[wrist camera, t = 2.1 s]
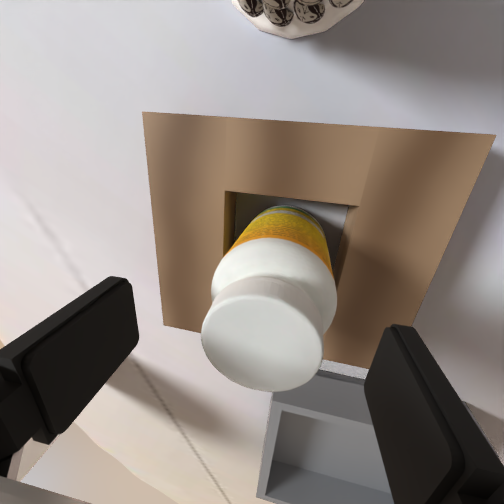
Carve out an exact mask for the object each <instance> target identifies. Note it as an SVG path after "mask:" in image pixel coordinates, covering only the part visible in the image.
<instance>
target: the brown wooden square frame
mask: <svg viewBox="0 0 504 504" xmlns="http://www.w3.org/2000/svg"><path fill="white" fill-rule="evenodd" d="M142 116H143V126H144V136H145V146H146V155H147V165H148V175H149V185H150V195H151V205H152V215H153V225H154V234H155V244H156V254H157V264H158V274H159V284H160V294H161V303H162V313H163V323H164V325H165V326H170V327H175V328H179V329H184V330H189V331H193V332H198V333H201V330H202V325H203V322H204V319H205V317H206V315H207V313H208V311H209V309H210V307H211V306H212V298H211V285H212V280H213V276H214V273H215V271H216V269H217V267H218V265H219V263H220V261H221V260H222V258H223V257H224V256H225V255H226V254H227V252H228V251H229V250H230V249H231V247H232V246H233V245H234V230H235V208H236V192H242V193H251V194H259V195H268V196H277V197H285V198H294V199H303V200H311V201H320V202H329V203H337V204H346V205H349V207H348V211H347V216H346V220H345V224H344V228H343V232H342V236H341V240H340V244H339V248H338V253H337V257H336V261H335V265H334V269H333V277H334V281H335V286H336V292H337V308H336V312H335V316H334V318H333V321H332V323H331V325H330V326H329V328H328V330H327V331H326V332H325V333H324V334H323V342H324V354H323V359H324V360H329V361H334V362H338V363H343V364H348V365H352V366H357V367H362V368H366V369H370V366H371V363H372V361H373V358H374V355H375V353H376V350H377V348H378V345H379V342H380V340H381V337H382V334H383V332H384V329H385V328H386V327H390V326H391V325H392V324H399V325H405V326H412V323H413V321H414V319H415V317H416V314H417V312H418V310H419V308H420V305H421V303H422V301H423V299H424V296H425V294H426V292H427V290H428V287H429V285H430V283H431V281H432V278H433V276H434V274H435V272H436V270H437V267H438V265H439V263H440V261H441V258H442V256H443V254H444V252H445V249H446V247H447V245H448V243H449V240H450V238H451V236H452V234H453V231H454V229H455V227H456V225H457V222H458V220H459V218H460V216H461V213H462V211H463V209H464V207H465V205H466V202H467V200H468V198H469V196H470V193H471V191H472V189H473V187H474V184H475V182H476V180H477V178H478V175H479V173H480V171H481V169H482V166H483V164H484V162H485V160H486V157H487V155H488V153H489V151H490V148H491V146H492V144H493V142H494V140H495V137H496V135H491V134H475V133H460V132H445V131H430V130H415V129H400V128H384V127H369V126H354V125H339V124H324V123H308V122H293V121H278V120H263V119H248V118H233V117H217V116H202V115H187V114H172V113H157V112H142Z"/></svg>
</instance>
